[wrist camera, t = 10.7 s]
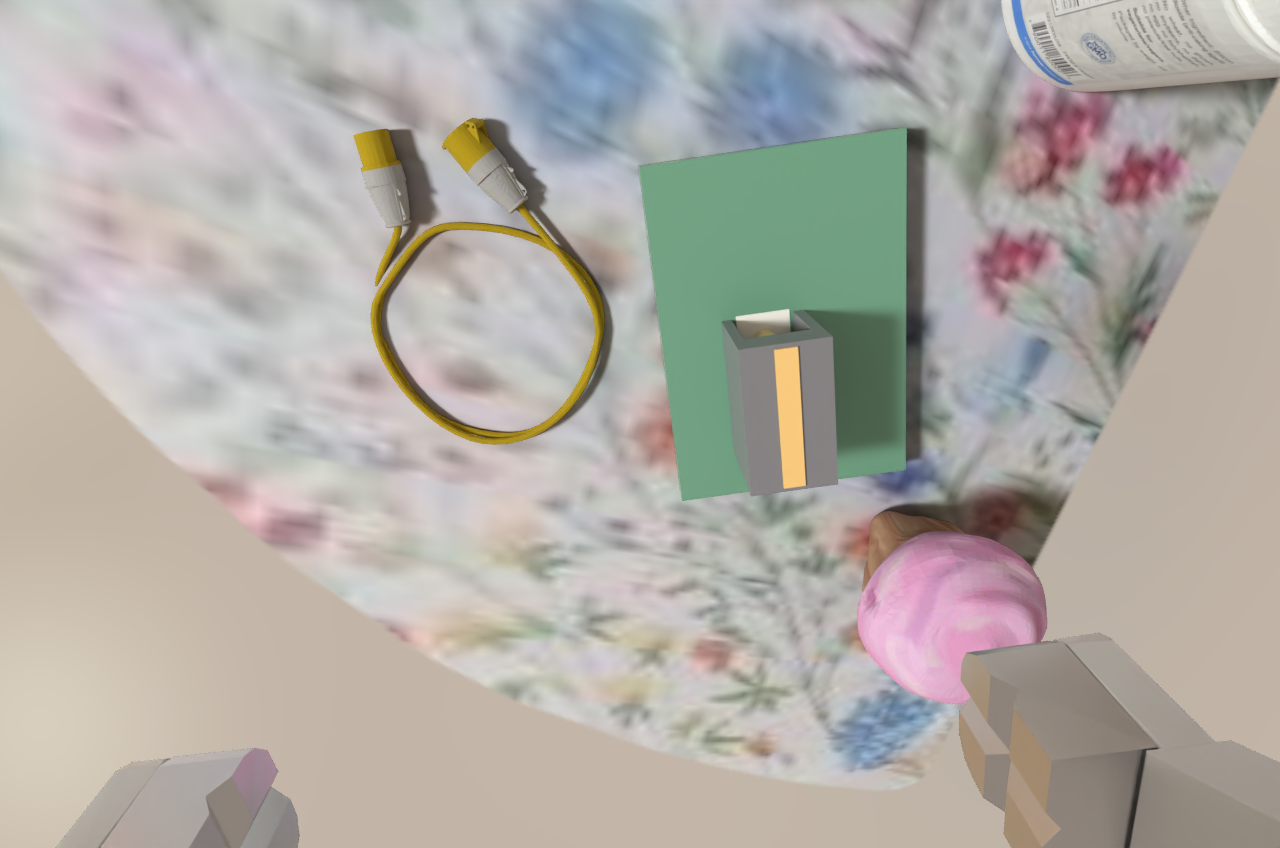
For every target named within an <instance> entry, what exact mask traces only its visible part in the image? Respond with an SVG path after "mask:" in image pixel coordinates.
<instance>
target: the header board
mask: <svg viewBox="0 0 1280 848" xmlns="http://www.w3.org/2000/svg"><path fill="white" fill-rule="evenodd" d="M638 169H639V176H640V184H641V192H642V199H643V207H644V215H645V223H646V230H647V238H648V246H649V253H650V261H651V269H652V276H653V284H654V292H655V300H656V307H657V315H658V323H659V330H660V338H661V346H662V354H663V361H664V369H665V377H666V384H667V392H668V400H669V408H670V415H671V423H672V431H673V438H674V446H675V454H676V461H677V469H678V477H679V485H680V491H681V496H682V501H685V500H693V499H700V498H707V497H714V496H721V495H728V494H736V493H743V492H749V489H748V487H747V484H746V482H745V479H744V477H743V474H742V471H741V469H740V466H739V464H738V461H737V459H736V456H735V454H734V449H733V439H732V428H731V418H730V407H729V397H728V387H727V376H726V366H725V355H724V345H723V335H722V324H721V321H728V320H732V322H733V323H734V325H735V326H736V328H737V329H738V331H739V332H740V334H741V335H742V337H743V338H744V339H747V338H754V337H761V336H768V335H775V334H782V333H789V332H794V322H793V311H797V310H804V311H805V312H806V313H807V314H808V315H810V316H811V317H812V318H813V319H814V320H815V321H816V322H817V323H818V324H819V325H821V326H822V327H823V328H824V329H825V330H826V331H827V332H828V333H829V334H831V335H832V336H833V358H834V385H835V412H836V439H837V467H838V479H843V478H850V477H857V476H864V475H872V474H879V473H886V472H893V471H900V470H906V221H907V128H892V129H885V130H878V131H871V132H864V133H857V134H851V135H844V136H837V137H830V138H823V139H817V140H810V141H803V142H796V143H789V144H783V145H776V146H769V147H762V148H755V149H749V150H742V151H735V152H728V153H721V154H715V155H708V156H701V157H694V158H687V159H681V160H674V161H667V162H660V163H653V164H647V165H640V166H638Z"/></svg>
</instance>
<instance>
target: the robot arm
mask: <svg viewBox="0 0 1280 848" xmlns="http://www.w3.org/2000/svg"><path fill="white" fill-rule="evenodd" d="M961 682H962V684H963V685H964V687H965V688H966V690H967V691H968V693H969V695H970V696H971V697H970V698H969V699H968V700H967V702H966V703H965V704H964V705H963V707H962V708H961V709H960V710H959V735H960V739H961V744H962V748H963V752H964V758H965V760H966V763H967V765H968V768H969V770H970V773H971V775H972V778H973V780H974V781H975V783H976V785H977V787H978V789H979V791H980V793H981V794H982V796H983V798H985V799H986V800H988V801H989V802H991V803H992V804H994V805H995V806H997V807H998V808H1000V809H1001V810H1003V811H1004V812H1005V823H1004V835H1005V837H1006V839H1007V840H1008V842H1009V844H1010V846H1011V847H1012V848H1280V763H1279V762H1277V761H1275V760H1273V759H1271V758H1269V757H1266V756H1264V755H1262V754H1260V753H1258V752H1256V751H1253V750H1251V749H1249V748H1247V747H1245V746H1242V745H1240V744H1238V743H1236V742H1234V741H1231V740H1229V741H1221V742H1215V741H1214V740H1213V739H1212V738H1211V737H1210V736H1209V735H1208V734H1207V733H1206V732H1205V731H1204V730H1203V729H1202V728H1201V727H1200V726H1199V725H1198V724H1197V723H1196V722H1195V721H1194V720H1193V719H1192V718H1191V717H1190V716H1189V715H1188V714H1187V713H1186V712H1185V711H1184V710H1183V709H1182V708H1181V707H1180V706H1179V705H1178V704H1177V703H1176V702H1175V701H1174V700H1173V699H1172V698H1171V697H1170V696H1169V695H1168V694H1167V693H1166V692H1165V691H1164V690H1163V689H1162V688H1161V687H1160V686H1159V685H1158V684H1157V683H1156V682H1155V681H1154V680H1153V679H1152V678H1151V677H1150V676H1149V675H1148V674H1147V673H1146V672H1145V671H1144V670H1143V669H1142V668H1141V667H1139V665H1138V664H1137V663H1136V662H1135V661H1134V660H1133V659H1131V657H1130V656H1129V655H1128V654H1127V653H1126V652H1125V651H1124V650H1123V649H1121V648H1120V647H1119V646H1118V645H1117V644H1116V643H1115V642H1114V641H1113V640H1112V639H1111V638H1110V637H1107V636H1105V635H1103V634H1101V633H1094V634H1088V635H1081V636H1074V637H1068V638H1060V639H1055V640H1053V641H1044V642H1037V643H1030V644H1023V645H1016V646H1009V647H1001V648H994V649H987V650H980V651H973V652H966V654H965V656H964V658H963V660H962V663H961ZM277 773H278V770H277V768H276V766H275V764H274V762H273V760H272V758H271V756H270V754H269V752H268V751H267V750H264V749H258V748H250V749H241V750H232V751H222V752H213V753H204V754H194V755H185V756H177V757H173V758H169V759H159V760H149V761H138V762H131V763H130V764H128V765H126V766H124V767H123V768H121V769H119V770H117V771H116V772H115V773H114V774H113V776H112V777H111V778H110V779H109V781H108V782H107V783H106V784H105V786H104V787H103V788H102V789H101V791H100V792H99V793H98V795H97V796H96V797H95V798H94V800H93V801H92V802H91V803H90V805H89V806H88V807H87V809H86V810H85V811H84V812H83V814H82V815H81V816H80V817H79V819H78V820H77V821H76V823H75V824H74V825H73V826H72V828H71V829H70V830H69V831H68V833H67V834H66V835H65V836H64V838H63V839H62V840H61V842H60V843H59V844H58V846H57V847H56V848H298V842H299V827H298V819H297V814H296V812H295V809H294V807H293V804H292V802H291V800H290V799H289V798H288V797H286V796H285V795H283V794H282V793H280V792H278V791H277V790H276V789H274V788H272V787H271V786H272V784H273V782H274V779H275V777H276V775H277Z"/></svg>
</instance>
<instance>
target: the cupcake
mask: <svg viewBox="0 0 1280 848" xmlns="http://www.w3.org/2000/svg"><path fill="white" fill-rule="evenodd" d="M857 623H858V630H859V635H860V638H861V640H862V642H863V644H864V646H865V648H866V650H867V651H868V653H869V654H870V655H871V657H872V658H873V659H874V661H875V662H876V663H877V664H878V665H879V666H880V667H881V668H882V669H883V670H884V671H885V672H886V673H887V674H888V675H889V676H890V677H891V678H892V679H893V680H894V681H895V682H897V683H898V684H899V685H901V686H902V687H903V688H905V689H906V690H908V691H909V692H911V693H913V694H916V695H919V696H921V697H924V698H927V699H930V700H933V701H938V702H942V703H948V704H965V703H966V702H967V700H968V699H969V698H970V697H971V696H970V695H969V693H968V691H967V690H966V688H965V687H964V685H963V684H962V682H961V663H962V660H963V658H964V656H965V654H966V652H973V651H980V650H987V649H994V648H1001V647H1009V646H1016V645H1023V644H1030V643H1037V642H1041V640H1042V638H1043V636H1044V634H1045V632H1046V629H1047V613H1046V602H1045V595H1044V591H1043V587H1042V584H1041V582H1040V580H1039V578H1038V577H1037V575H1036V574H1035V572H1034V570H1033V569H1032V567H1031V566H1030V565H1029V564H1028V563H1027V562H1026V561H1025V560H1024V559H1023V558H1022V557H1021V556H1020V555H1018V554H1017V553H1016V552H1014V551H1013V550H1011V549H1009V548H1008V547H1006V546H1004V545H1002V544H1000V543H998V542H996V541H994V540H991V539H989V538H985V537H981V536H975V535H970V534H966V533H965V532H963V531H962V530H961V529H960V528H958V527H957V526H955V525H953V524H952V523H950V522H948V521H943V520H937V519H931V518H927V517H924V516H910V515H905V514H902V513H898V512H894V511H884V512H881V513H879V514H878V515H876V516H875V517H874V519H873V520H872V522H871V525H870V537H869V556H868V560H867V563H866V566H865V570H864V579H863V585H862V594H861V597H860V601H859V605H858V613H857Z"/></svg>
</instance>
